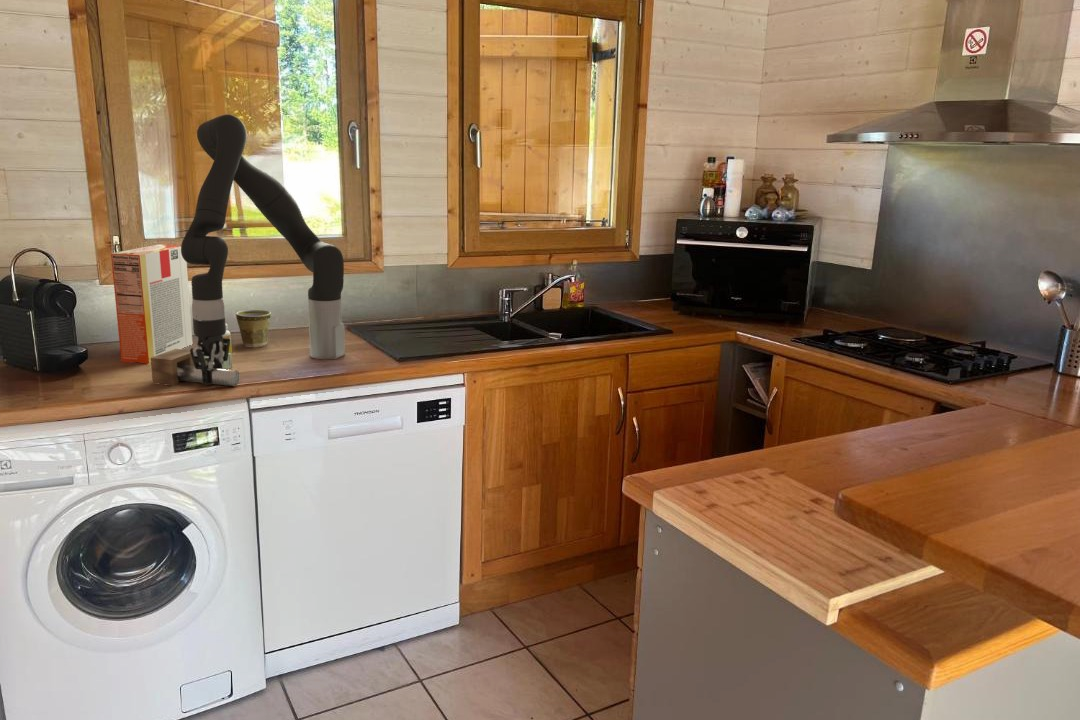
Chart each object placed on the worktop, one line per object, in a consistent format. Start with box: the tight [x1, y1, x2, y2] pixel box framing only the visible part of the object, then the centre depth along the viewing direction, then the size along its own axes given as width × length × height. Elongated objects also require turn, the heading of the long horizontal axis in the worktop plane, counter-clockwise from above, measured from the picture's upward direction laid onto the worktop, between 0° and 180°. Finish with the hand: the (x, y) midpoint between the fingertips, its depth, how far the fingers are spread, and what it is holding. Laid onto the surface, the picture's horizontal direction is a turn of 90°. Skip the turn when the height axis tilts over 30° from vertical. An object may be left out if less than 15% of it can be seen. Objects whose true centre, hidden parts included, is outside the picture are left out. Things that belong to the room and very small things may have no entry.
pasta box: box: [110, 243, 193, 364], centre depth 223 cm, size 23×8×30 cm, turn 175°
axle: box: [177, 365, 241, 387], centre depth 200 cm, size 20×4×4 cm, turn 79°
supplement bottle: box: [222, 322, 233, 356], centre depth 224 cm, size 5×5×10 cm
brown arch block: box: [150, 349, 194, 386], centre depth 201 cm, size 6×10×7 cm, turn 169°
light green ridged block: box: [199, 353, 233, 370], centre depth 212 cm, size 10×8×4 cm
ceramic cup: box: [235, 309, 272, 348], centre depth 240 cm, size 13×10×10 cm
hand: (212, 381), depth 200 cm, fingers closed on axle, 4 cm apart
